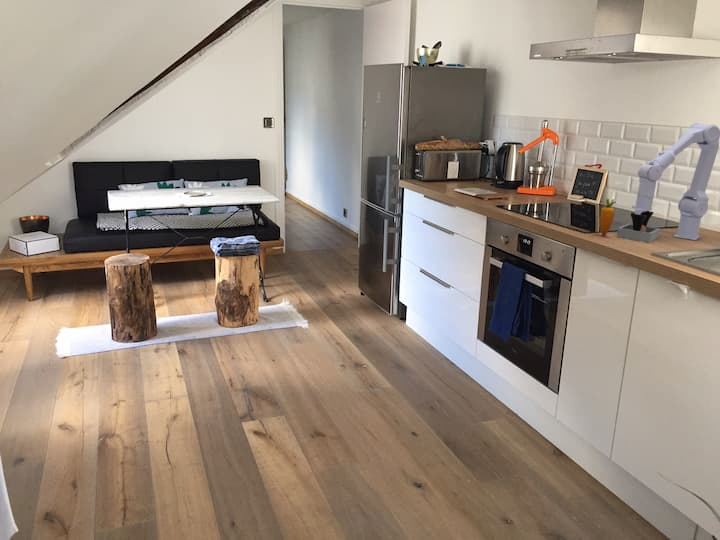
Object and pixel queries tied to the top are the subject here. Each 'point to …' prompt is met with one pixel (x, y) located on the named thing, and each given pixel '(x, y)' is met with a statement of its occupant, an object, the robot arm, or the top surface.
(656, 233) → the grey tray
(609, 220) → the carrot
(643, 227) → the ball
